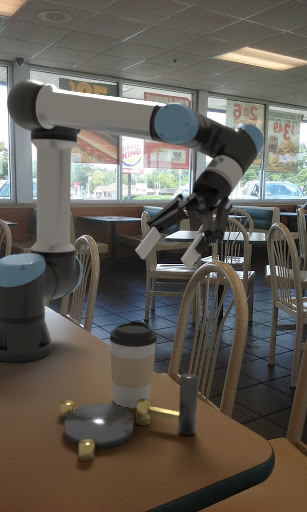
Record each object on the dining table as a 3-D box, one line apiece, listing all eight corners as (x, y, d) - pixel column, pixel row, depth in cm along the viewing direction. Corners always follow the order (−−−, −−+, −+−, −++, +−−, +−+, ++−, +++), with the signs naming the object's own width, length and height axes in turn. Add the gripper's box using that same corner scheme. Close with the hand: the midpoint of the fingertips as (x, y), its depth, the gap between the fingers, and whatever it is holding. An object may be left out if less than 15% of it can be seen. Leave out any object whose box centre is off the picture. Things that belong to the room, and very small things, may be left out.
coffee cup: (148, 413, 87) (152, 335, 84) (101, 407, 88) (103, 330, 86) (158, 393, 95) (161, 321, 93) (115, 387, 97) (117, 317, 95)
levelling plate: (55, 413, 85) (56, 401, 85) (116, 404, 90) (117, 393, 89) (76, 463, 71) (77, 449, 70) (148, 449, 75) (149, 436, 75)
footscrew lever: (133, 424, 82) (135, 370, 81) (139, 416, 85) (141, 364, 84) (192, 437, 79) (195, 382, 77) (197, 429, 81) (200, 375, 80)
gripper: (168, 168, 105) (112, 239, 98) (259, 169, 88) (199, 255, 80) (183, 192, 110) (131, 262, 102) (273, 198, 92) (218, 282, 84)
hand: (161, 259), depth 91 cm, fingers open, 12 cm apart
